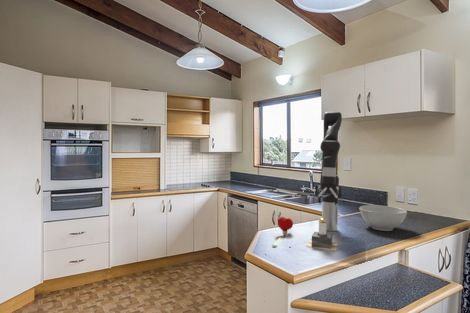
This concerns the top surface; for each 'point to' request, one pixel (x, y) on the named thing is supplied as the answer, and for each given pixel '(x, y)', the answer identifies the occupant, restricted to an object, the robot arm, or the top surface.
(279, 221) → the red rounded lobed piece
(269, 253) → the top surface
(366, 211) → the decorative bowl
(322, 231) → the key peg
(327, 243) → the stand
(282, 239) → the sage mat
